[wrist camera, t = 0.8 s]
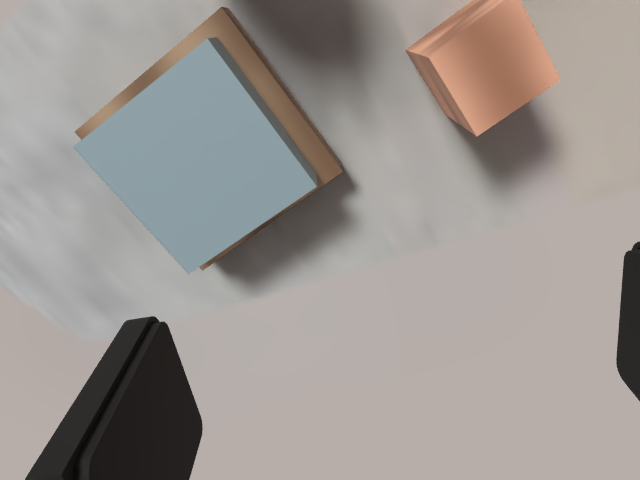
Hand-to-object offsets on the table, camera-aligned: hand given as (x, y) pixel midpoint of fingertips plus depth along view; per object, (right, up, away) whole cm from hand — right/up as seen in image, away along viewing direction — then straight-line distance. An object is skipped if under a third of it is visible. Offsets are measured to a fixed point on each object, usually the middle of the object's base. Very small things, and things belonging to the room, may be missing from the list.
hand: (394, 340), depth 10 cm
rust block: (+7, +14, +22) cm, 27 cm away
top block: (-9, +7, +22) cm, 25 cm away
